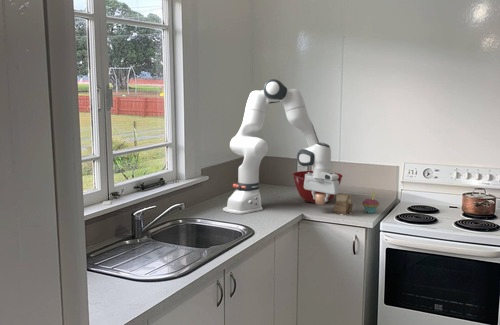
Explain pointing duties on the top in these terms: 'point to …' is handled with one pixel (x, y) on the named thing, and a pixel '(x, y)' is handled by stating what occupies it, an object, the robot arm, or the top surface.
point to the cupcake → (370, 204)
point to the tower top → (343, 199)
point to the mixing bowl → (307, 194)
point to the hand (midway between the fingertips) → (320, 200)
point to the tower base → (343, 209)
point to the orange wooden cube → (320, 198)
